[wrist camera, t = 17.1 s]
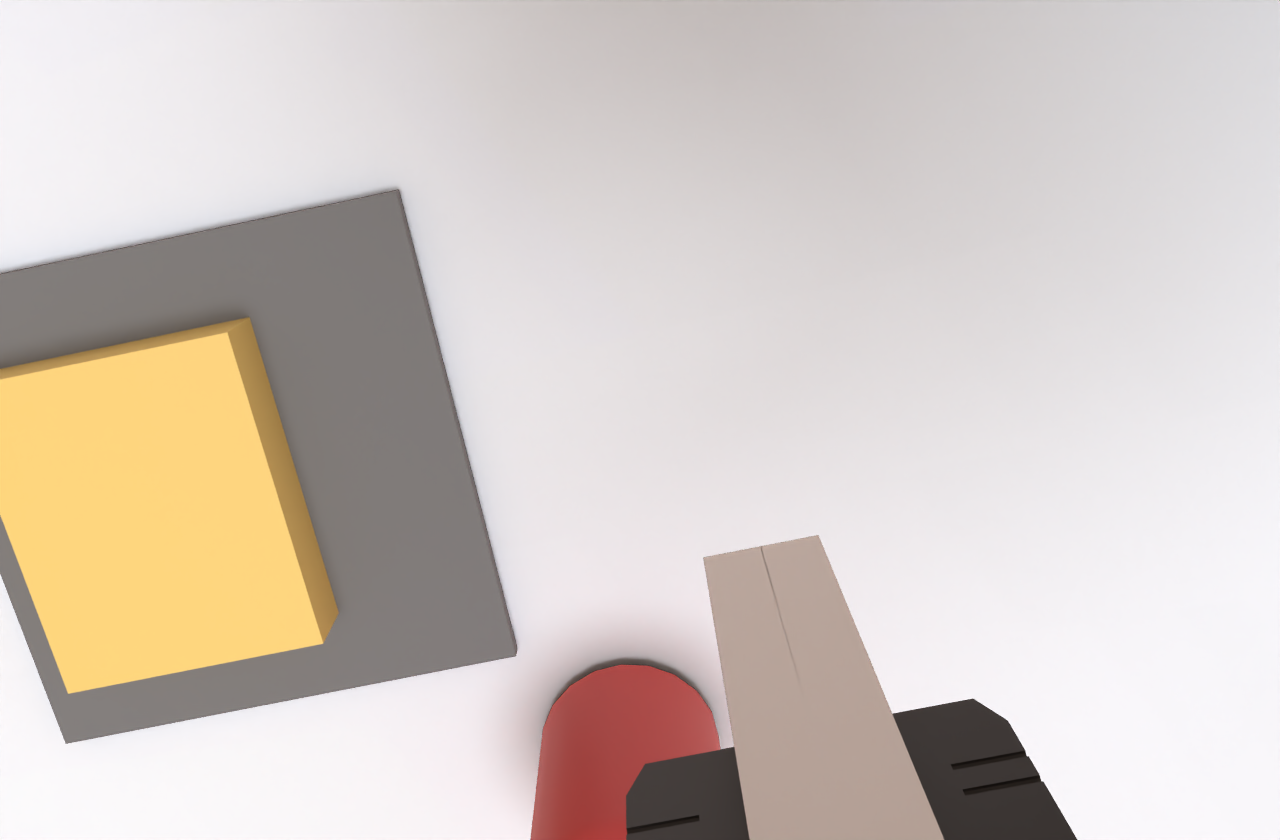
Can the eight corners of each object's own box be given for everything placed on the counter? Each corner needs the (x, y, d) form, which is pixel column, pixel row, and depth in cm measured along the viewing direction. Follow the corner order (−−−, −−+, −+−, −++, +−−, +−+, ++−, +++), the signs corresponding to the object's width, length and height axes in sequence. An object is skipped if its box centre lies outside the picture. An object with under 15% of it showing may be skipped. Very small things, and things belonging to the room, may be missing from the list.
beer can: (636, 622, 45) (643, 817, 33) (752, 740, 46) (798, 966, 35) (506, 730, 46) (468, 954, 34) (623, 841, 47) (625, 1093, 36)
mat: (-96, 294, 41) (-106, 297, 40) (398, 189, 40) (395, 191, 39) (73, 735, 45) (66, 743, 45) (517, 648, 45) (515, 656, 44)
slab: (249, 317, 40) (-10, 370, 41) (227, 332, 38) (-48, 389, 39) (339, 613, 44) (96, 660, 44) (323, 643, 41) (68, 693, 42)
